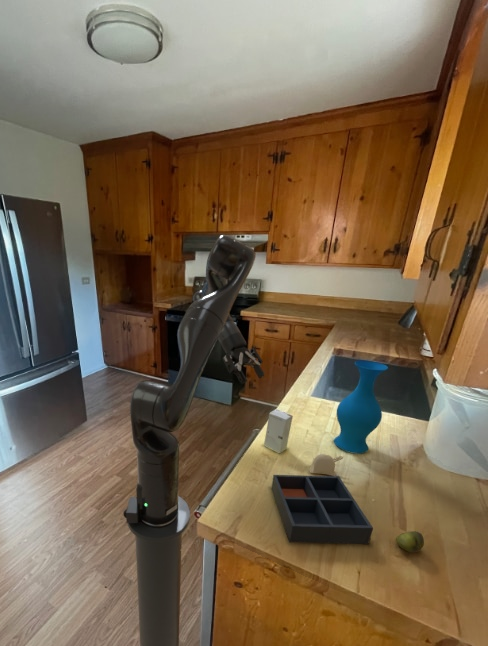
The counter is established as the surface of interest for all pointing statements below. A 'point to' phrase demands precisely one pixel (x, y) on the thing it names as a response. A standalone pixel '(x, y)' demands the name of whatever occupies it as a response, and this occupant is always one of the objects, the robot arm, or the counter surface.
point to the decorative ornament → (324, 464)
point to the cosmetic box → (278, 430)
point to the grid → (319, 510)
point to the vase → (359, 410)
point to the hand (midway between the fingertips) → (253, 379)
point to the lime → (411, 541)
